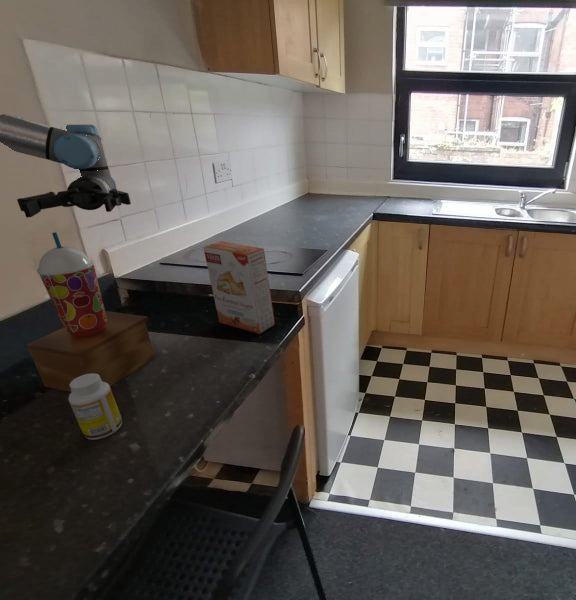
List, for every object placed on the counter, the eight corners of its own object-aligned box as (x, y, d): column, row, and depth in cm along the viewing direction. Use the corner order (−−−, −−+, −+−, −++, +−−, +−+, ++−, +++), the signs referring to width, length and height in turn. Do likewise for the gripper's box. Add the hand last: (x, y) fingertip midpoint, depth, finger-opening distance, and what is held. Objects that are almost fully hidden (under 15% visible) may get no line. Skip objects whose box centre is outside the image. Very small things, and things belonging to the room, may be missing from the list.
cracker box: (217, 324, 104) (201, 246, 95) (235, 315, 109) (221, 239, 100) (259, 335, 98) (245, 253, 90) (276, 325, 103) (264, 246, 95)
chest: (110, 349, 92) (98, 315, 89) (155, 357, 90) (145, 321, 86) (44, 386, 80) (27, 348, 76) (95, 396, 77) (80, 357, 73)
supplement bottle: (110, 415, 72) (92, 367, 68) (130, 424, 70) (113, 374, 66) (76, 435, 67) (54, 385, 63) (97, 445, 65) (76, 394, 61)
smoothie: (79, 322, 84) (45, 227, 76) (121, 320, 85) (92, 226, 77) (52, 342, 76) (11, 239, 68) (99, 339, 77) (64, 238, 69)
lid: (102, 313, 90) (101, 310, 89) (148, 320, 87) (147, 316, 86) (27, 348, 76) (26, 344, 76) (80, 357, 73) (78, 353, 73)
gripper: (150, 204, 107) (141, 220, 90) (32, 211, 97) (-3, 231, 80) (143, 174, 104) (132, 185, 87) (20, 179, 94) (-19, 193, 77)
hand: (67, 208), depth 83 cm, fingers open, 13 cm apart
